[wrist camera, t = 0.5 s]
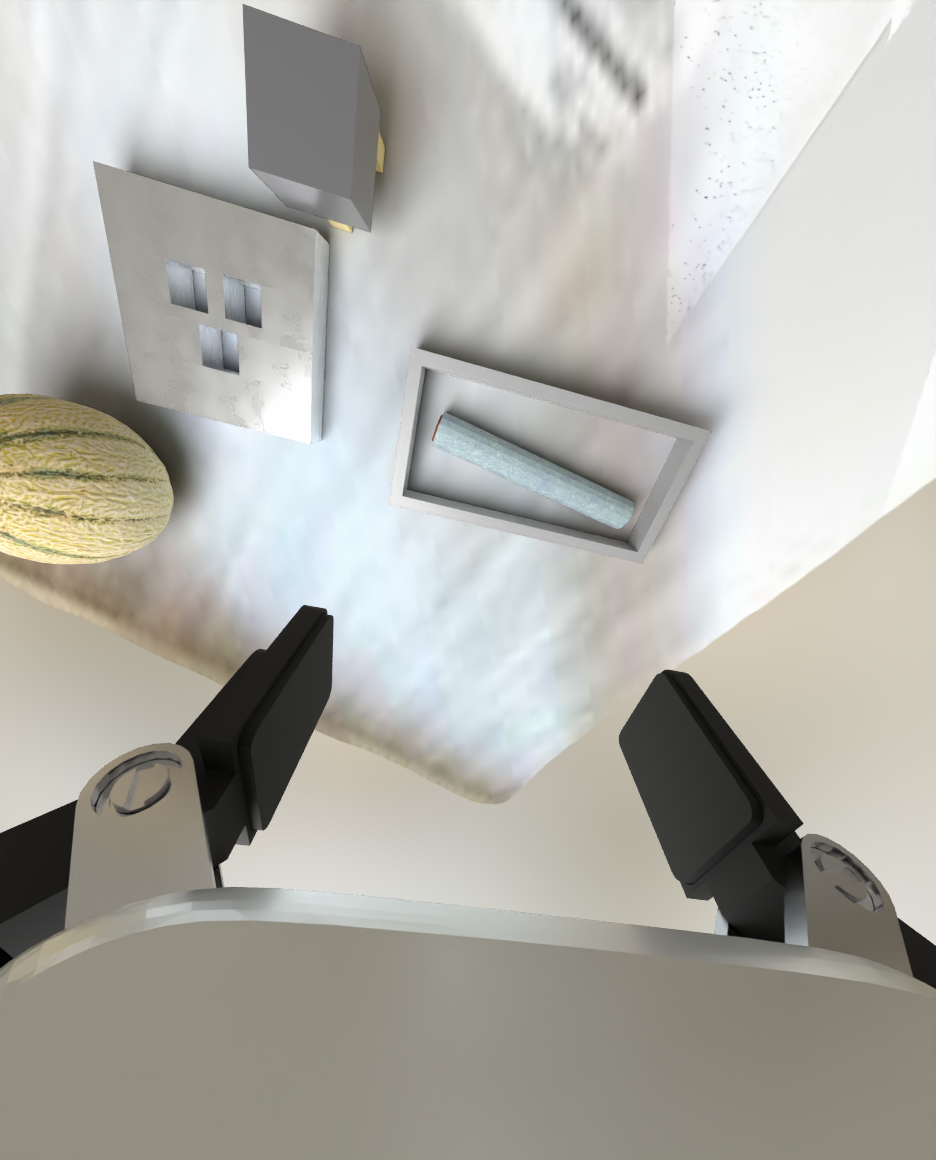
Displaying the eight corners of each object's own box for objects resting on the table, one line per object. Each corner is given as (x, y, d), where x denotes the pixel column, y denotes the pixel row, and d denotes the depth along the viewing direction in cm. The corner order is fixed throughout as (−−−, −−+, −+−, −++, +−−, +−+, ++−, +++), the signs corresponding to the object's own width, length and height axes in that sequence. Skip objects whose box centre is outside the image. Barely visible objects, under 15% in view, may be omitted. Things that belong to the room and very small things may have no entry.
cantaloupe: (194, 553, 43) (70, 622, 30) (61, 496, 40) (-145, 545, 27) (216, 441, 37) (72, 465, 24) (61, 364, 34) (-205, 341, 21)
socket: (129, 183, 28) (93, 161, 25) (329, 244, 30) (315, 229, 27) (161, 400, 35) (136, 400, 33) (321, 440, 37) (310, 443, 34)
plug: (305, 111, 26) (242, 3, 19) (389, 140, 27) (359, 46, 20) (303, 224, 29) (248, 167, 22) (379, 247, 30) (350, 199, 22)
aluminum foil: (432, 442, 37) (429, 446, 34) (456, 376, 34) (454, 374, 31) (610, 524, 41) (621, 533, 38) (645, 471, 38) (660, 477, 35)
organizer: (415, 350, 33) (410, 346, 30) (693, 428, 36) (711, 431, 33) (394, 497, 39) (389, 504, 37) (631, 553, 42) (642, 563, 40)
